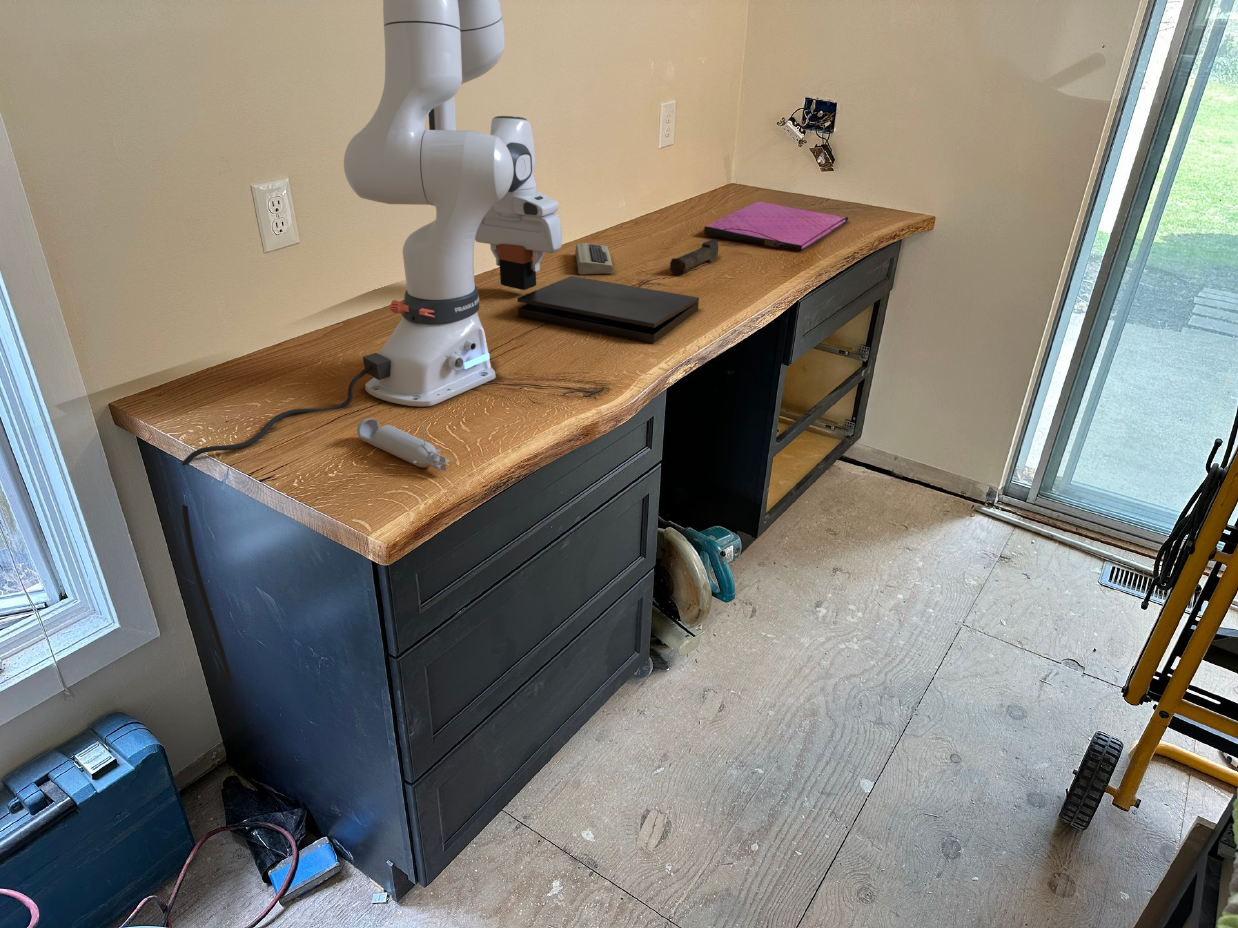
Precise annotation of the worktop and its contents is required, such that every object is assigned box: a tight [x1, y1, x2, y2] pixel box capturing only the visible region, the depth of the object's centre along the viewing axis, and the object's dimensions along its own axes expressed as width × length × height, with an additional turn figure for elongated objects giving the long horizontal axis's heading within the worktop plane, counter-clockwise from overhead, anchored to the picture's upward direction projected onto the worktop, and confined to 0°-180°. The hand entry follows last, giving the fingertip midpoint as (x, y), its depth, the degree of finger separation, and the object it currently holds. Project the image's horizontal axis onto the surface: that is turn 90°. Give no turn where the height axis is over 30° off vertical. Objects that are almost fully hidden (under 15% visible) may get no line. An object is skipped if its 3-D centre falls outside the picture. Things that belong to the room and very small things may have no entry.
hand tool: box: [669, 238, 719, 276], centre depth 202 cm, size 19×4×5 cm, turn 143°
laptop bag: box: [703, 201, 849, 251], centre depth 231 cm, size 40×4×27 cm
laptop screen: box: [517, 275, 700, 328], centre depth 173 cm, size 21×30×1 cm
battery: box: [498, 244, 537, 291], centre depth 181 cm, size 4×7×10 cm, turn 55°
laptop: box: [517, 301, 700, 345], centre depth 174 cm, size 21×30×2 cm
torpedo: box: [356, 417, 451, 473], centre depth 121 cm, size 18×5×6 cm, turn 52°
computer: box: [574, 242, 614, 275], centre depth 203 cm, size 16×8×3 cm, turn 5°
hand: (518, 268), depth 182 cm, fingers closed on battery, 7 cm apart
